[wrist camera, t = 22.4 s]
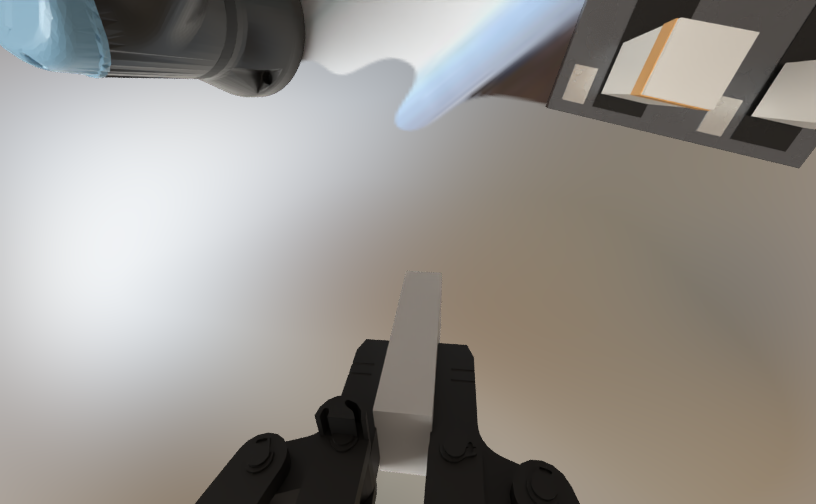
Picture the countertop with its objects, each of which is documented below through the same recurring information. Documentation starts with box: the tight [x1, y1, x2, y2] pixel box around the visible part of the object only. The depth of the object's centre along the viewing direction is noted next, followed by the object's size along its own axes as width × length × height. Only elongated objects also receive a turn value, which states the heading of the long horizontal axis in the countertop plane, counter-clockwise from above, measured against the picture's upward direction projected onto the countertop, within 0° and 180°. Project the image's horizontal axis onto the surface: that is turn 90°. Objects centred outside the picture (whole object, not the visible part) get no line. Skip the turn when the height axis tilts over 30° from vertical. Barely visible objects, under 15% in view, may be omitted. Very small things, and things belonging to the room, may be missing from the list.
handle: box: [601, 17, 760, 111], centre depth 25 cm, size 4×4×12 cm
